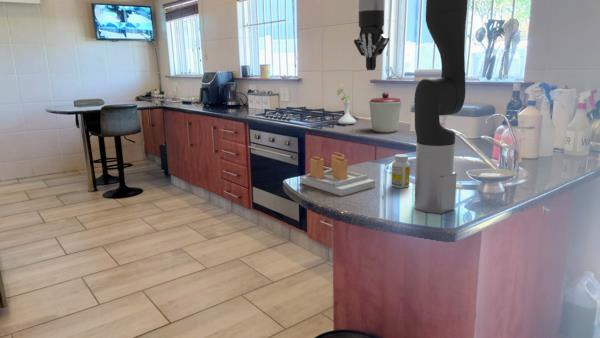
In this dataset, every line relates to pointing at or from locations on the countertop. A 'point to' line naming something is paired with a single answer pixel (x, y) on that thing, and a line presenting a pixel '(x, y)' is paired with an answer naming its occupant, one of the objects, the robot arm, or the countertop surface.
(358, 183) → the switch bank
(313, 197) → the countertop surface
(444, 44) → the robot arm
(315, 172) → the tab
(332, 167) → the tab
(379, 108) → the canister
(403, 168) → the supplement bottle
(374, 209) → the countertop surface
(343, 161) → the tab
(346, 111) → the flower in vase
